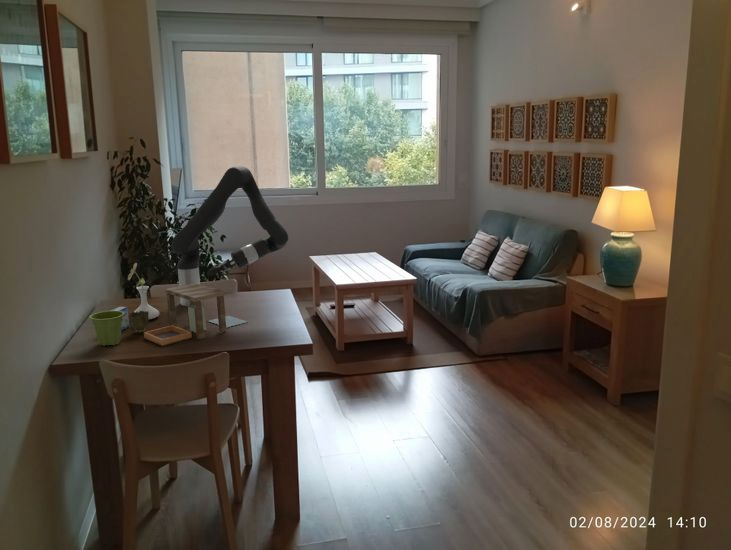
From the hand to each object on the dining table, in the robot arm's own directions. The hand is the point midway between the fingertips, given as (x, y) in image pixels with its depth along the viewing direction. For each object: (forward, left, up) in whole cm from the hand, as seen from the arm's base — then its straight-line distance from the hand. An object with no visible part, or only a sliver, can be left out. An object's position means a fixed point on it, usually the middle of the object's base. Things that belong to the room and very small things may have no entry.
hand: (209, 273), depth 243 cm
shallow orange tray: (+4, -23, -21) cm, 31 cm away
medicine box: (-22, -30, -21) cm, 43 cm away
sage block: (+4, -10, -21) cm, 23 cm away
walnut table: (+4, -10, -21) cm, 23 cm away
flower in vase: (-28, -16, -21) cm, 38 cm away
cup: (-12, -26, -21) cm, 35 cm away
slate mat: (+4, +4, -21) cm, 22 cm away
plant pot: (-8, -40, -21) cm, 46 cm away
